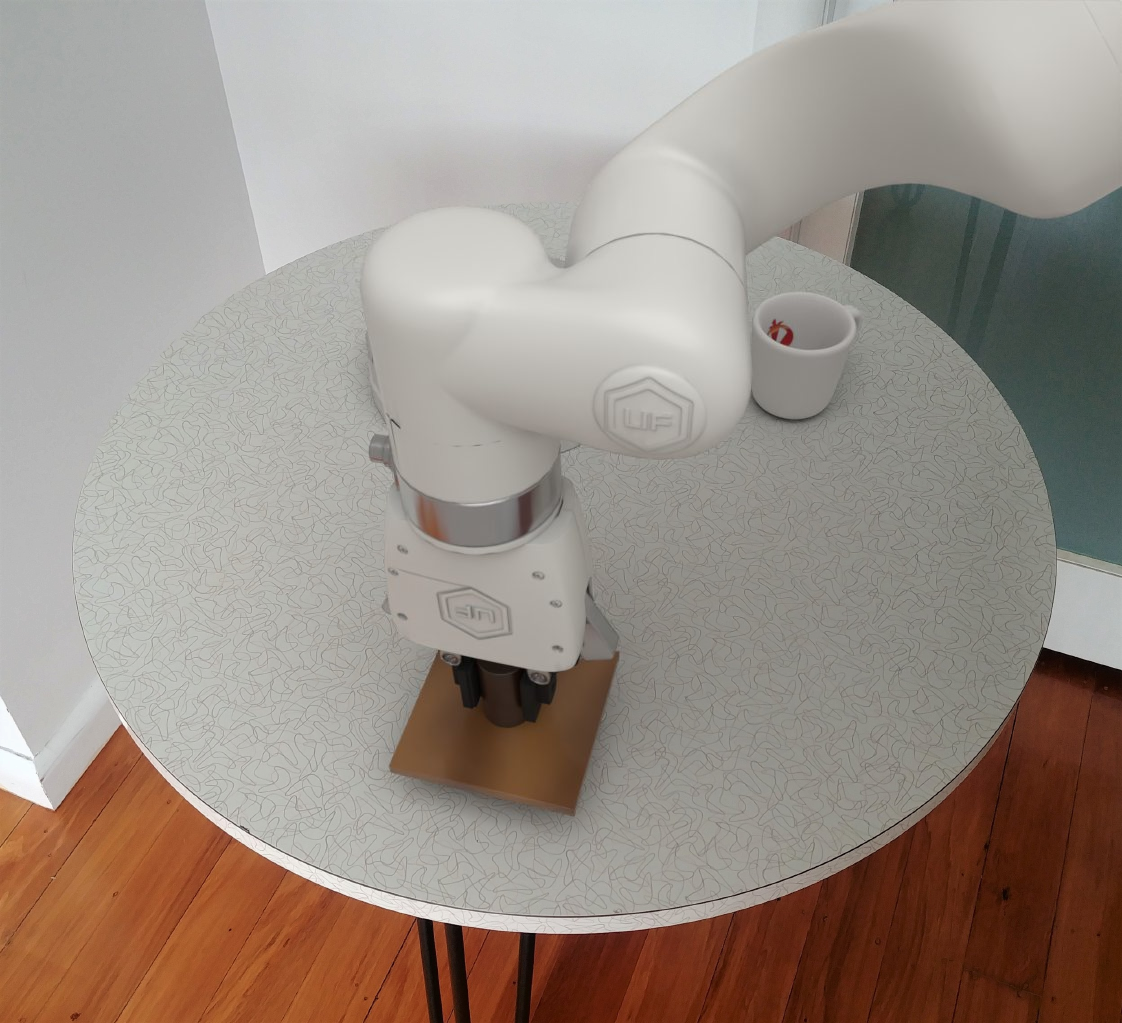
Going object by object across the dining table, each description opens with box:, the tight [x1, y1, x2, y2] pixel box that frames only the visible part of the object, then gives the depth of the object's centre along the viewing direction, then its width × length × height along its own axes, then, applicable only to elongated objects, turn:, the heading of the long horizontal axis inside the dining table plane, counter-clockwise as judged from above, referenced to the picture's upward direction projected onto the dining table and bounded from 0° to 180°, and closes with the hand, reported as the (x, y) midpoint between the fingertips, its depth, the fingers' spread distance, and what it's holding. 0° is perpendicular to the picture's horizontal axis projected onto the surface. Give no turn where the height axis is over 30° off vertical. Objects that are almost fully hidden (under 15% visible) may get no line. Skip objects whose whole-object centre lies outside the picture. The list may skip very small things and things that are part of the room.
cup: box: [750, 291, 864, 420], centre depth 85 cm, size 11×8×8 cm
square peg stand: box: [388, 650, 620, 817], centre depth 61 cm, size 11×11×6 cm
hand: (507, 692), depth 62 cm, fingers closed on square peg stand, 3 cm apart
